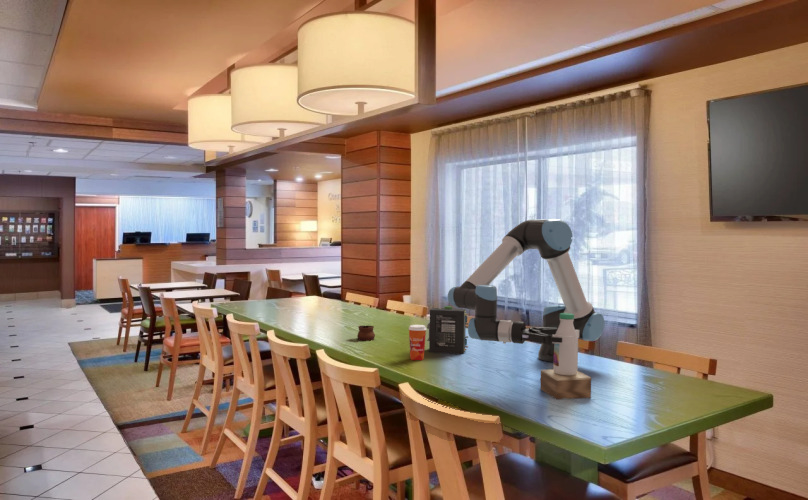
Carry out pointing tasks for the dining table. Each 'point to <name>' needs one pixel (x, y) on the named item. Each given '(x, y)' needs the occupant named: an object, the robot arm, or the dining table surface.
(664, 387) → the dining table surface
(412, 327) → the paper cup
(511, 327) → the robot arm
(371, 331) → the ceramic pot
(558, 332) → the milk bottle
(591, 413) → the dining table surface
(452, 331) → the router
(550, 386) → the block
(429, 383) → the dining table surface
